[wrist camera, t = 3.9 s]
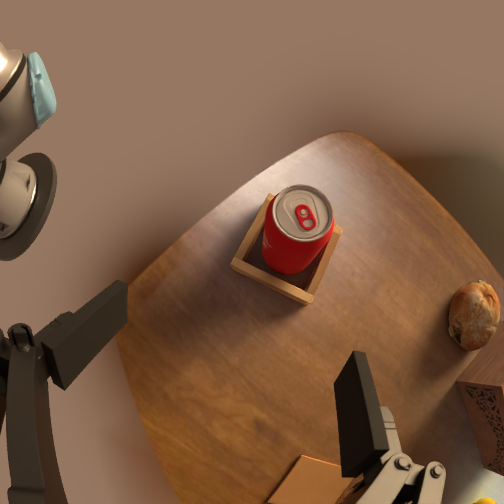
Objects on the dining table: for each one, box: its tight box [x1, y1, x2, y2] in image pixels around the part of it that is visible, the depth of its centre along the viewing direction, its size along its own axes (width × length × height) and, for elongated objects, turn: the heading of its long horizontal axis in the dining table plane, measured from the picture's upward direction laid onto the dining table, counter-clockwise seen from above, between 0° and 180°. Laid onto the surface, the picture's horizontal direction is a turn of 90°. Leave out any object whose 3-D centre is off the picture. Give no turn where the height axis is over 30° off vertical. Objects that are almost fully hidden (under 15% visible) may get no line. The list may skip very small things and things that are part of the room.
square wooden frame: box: [230, 193, 343, 305], centre depth 33 cm, size 10×10×2 cm
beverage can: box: [262, 185, 334, 275], centre depth 28 cm, size 6×6×12 cm
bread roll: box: [448, 280, 500, 351], centre depth 29 cm, size 10×10×8 cm
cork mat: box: [268, 455, 353, 504], centre depth 25 cm, size 9×9×1 cm
